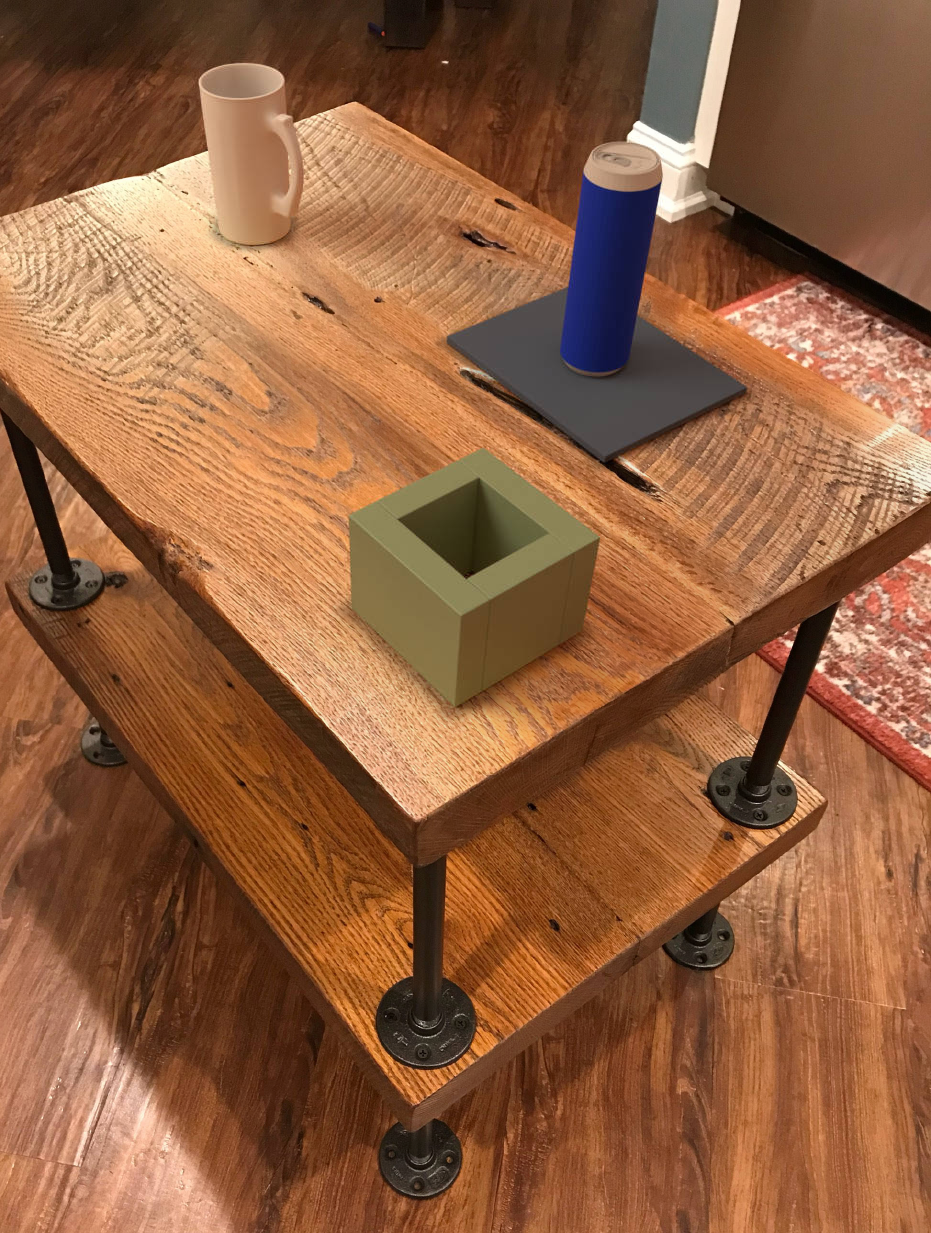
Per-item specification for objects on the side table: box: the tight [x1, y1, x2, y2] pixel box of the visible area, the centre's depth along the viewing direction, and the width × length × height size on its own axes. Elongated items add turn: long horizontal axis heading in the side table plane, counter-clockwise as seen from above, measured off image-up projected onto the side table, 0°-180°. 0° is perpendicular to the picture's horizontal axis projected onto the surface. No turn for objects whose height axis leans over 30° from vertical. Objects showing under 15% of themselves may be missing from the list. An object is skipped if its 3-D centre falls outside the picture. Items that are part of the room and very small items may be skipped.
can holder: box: [348, 447, 601, 708], centre depth 67 cm, size 10×10×8 cm
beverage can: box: [560, 141, 664, 377], centre depth 80 cm, size 5×5×15 cm
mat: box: [446, 286, 748, 464], centre depth 86 cm, size 18×14×1 cm
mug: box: [198, 62, 305, 246], centre depth 94 cm, size 10×7×12 cm, turn 44°
